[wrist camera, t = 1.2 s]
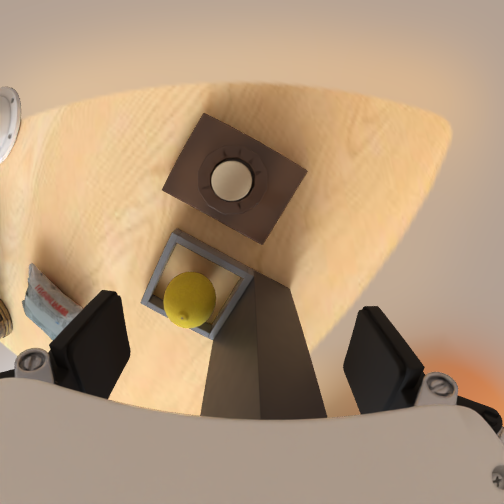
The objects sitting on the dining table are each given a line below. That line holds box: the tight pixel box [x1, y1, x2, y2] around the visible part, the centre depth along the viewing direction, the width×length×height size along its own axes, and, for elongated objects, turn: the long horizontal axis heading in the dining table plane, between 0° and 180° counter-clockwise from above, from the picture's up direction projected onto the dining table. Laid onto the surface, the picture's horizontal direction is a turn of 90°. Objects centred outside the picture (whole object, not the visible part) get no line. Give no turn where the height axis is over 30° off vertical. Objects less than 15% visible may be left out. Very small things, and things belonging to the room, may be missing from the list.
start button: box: [211, 161, 252, 201], centre depth 25 cm, size 4×4×2 cm
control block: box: [162, 113, 307, 245], centre depth 27 cm, size 12×9×4 cm
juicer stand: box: [141, 228, 327, 420], centre depth 22 cm, size 16×11×25 cm
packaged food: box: [22, 263, 83, 340], centre depth 32 cm, size 9×12×5 cm
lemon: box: [163, 272, 216, 328], centre depth 29 cm, size 6×6×8 cm
